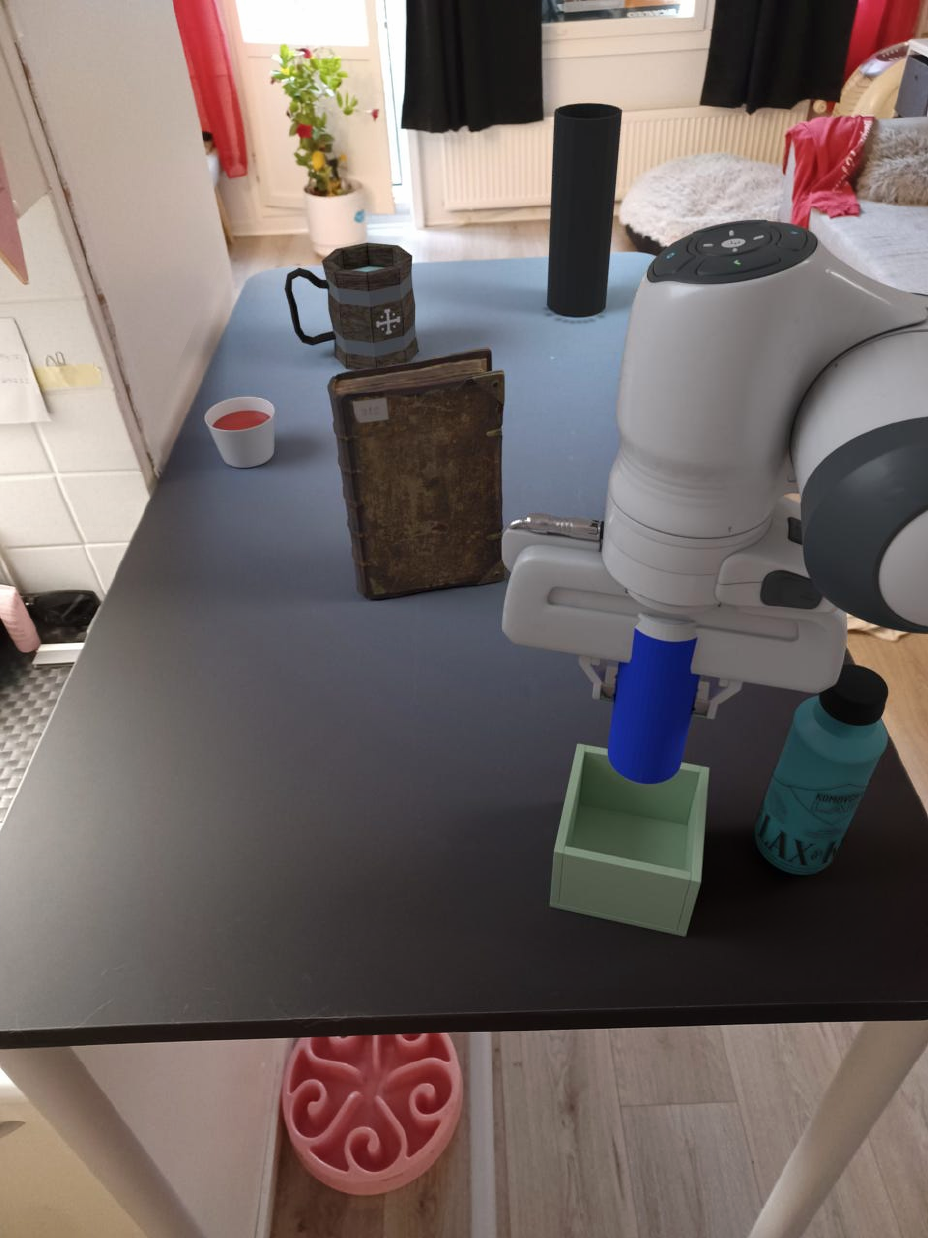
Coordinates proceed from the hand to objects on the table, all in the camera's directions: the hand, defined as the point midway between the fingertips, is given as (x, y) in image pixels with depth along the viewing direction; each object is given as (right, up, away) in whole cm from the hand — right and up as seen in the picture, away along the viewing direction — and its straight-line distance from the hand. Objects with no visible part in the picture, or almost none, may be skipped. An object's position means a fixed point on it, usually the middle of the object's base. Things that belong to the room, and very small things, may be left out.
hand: (653, 702), depth 59 cm
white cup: (-42, +27, +61) cm, 79 cm away
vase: (+7, +60, +95) cm, 113 cm away
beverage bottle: (+14, -14, +13) cm, 24 cm away
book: (-17, +10, +41) cm, 46 cm away
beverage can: (0, -5, +4) cm, 6 cm away
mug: (-30, +48, +83) cm, 100 cm away
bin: (0, -14, +13) cm, 19 cm away
